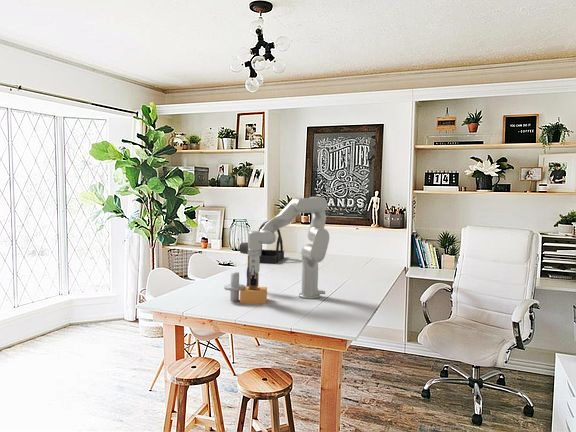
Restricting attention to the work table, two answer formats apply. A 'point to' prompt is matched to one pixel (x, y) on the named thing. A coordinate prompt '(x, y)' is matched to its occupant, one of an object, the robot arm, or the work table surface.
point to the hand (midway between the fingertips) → (253, 284)
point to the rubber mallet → (244, 249)
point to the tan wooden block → (256, 281)
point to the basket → (272, 251)
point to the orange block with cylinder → (245, 292)
